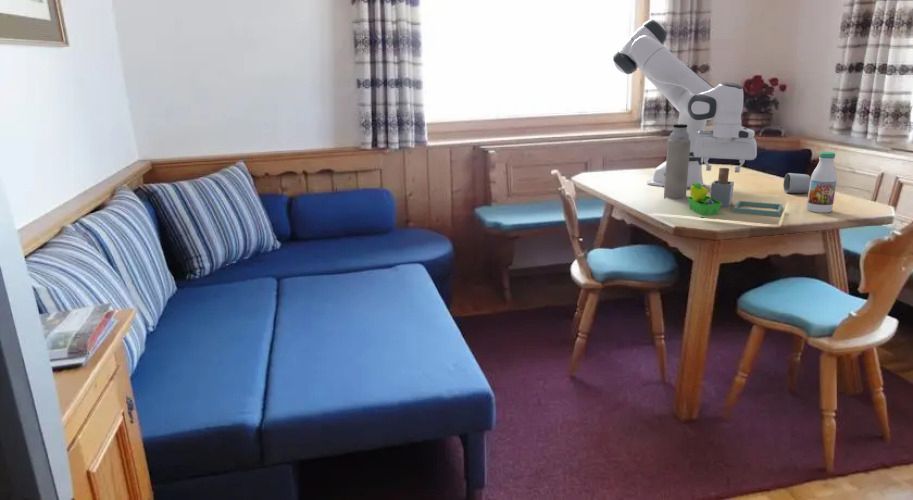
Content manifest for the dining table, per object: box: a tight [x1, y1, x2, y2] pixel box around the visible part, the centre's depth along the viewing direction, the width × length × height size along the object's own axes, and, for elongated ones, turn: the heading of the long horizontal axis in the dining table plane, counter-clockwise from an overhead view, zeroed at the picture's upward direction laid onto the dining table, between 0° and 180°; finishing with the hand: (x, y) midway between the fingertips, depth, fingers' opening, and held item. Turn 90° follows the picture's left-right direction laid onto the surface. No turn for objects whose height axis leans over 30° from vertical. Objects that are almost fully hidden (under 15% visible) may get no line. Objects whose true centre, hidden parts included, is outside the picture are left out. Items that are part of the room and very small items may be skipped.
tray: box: [732, 200, 784, 217], centre depth 215 cm, size 14×12×2 cm
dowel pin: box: [717, 167, 730, 184], centre depth 223 cm, size 3×3×13 cm
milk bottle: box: [806, 151, 838, 214], centre depth 214 cm, size 8×8×20 cm
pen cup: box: [709, 179, 735, 208], centre depth 223 cm, size 6×6×9 cm
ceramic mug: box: [782, 172, 811, 194], centre depth 244 cm, size 11×8×8 cm
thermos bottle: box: [663, 123, 691, 200], centre depth 235 cm, size 8×8×28 cm
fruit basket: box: [687, 183, 722, 219], centre depth 215 cm, size 11×9×11 cm
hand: (722, 171), depth 221 cm, fingers open, 8 cm apart
